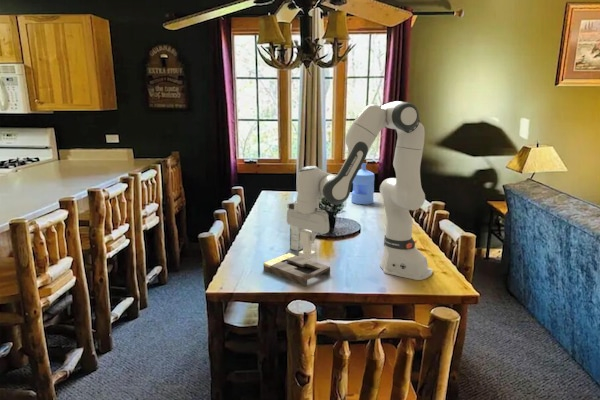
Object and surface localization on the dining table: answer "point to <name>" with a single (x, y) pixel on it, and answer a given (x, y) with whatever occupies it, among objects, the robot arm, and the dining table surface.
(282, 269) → the keyhole plate
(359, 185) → the water jug
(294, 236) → the syrup box
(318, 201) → the robot arm
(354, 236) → the dining table surface
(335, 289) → the dining table surface
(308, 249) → the keyed peg
